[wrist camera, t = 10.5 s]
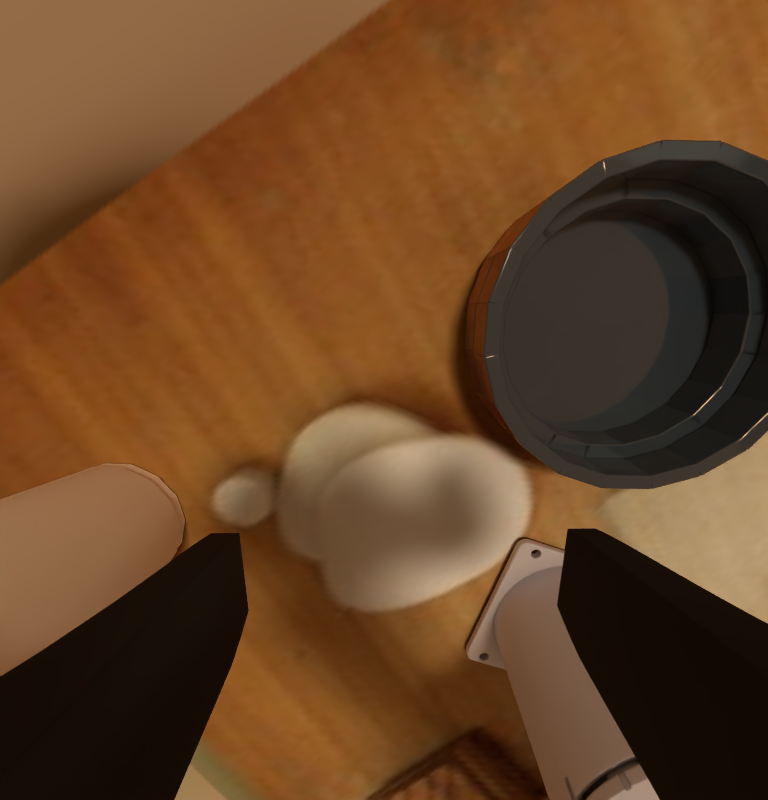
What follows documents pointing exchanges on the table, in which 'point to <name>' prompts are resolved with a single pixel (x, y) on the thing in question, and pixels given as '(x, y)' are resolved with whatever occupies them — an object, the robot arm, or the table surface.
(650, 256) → the bowl
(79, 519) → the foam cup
